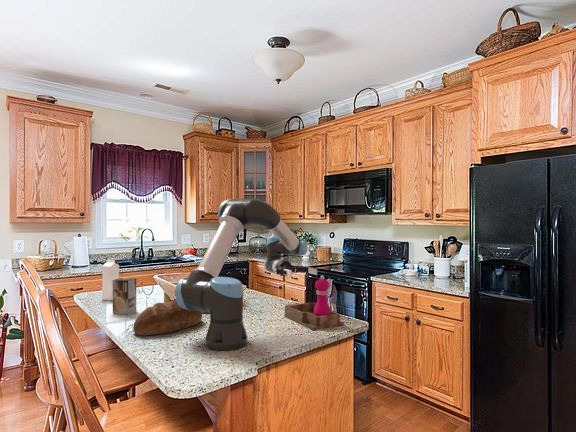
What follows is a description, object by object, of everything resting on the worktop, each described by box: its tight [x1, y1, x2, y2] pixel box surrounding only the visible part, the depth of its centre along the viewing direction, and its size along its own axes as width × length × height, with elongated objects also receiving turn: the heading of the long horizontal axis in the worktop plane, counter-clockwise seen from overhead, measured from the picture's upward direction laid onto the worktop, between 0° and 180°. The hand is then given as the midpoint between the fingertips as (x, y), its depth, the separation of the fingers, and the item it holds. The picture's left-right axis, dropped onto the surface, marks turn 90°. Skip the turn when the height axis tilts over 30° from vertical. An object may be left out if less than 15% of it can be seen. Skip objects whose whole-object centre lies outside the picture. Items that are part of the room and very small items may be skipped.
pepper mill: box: [314, 274, 331, 316], centre depth 157 cm, size 7×7×20 cm
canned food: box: [163, 280, 180, 303], centre depth 192 cm, size 8×8×12 cm
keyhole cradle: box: [283, 301, 345, 331], centre depth 163 cm, size 16×24×5 cm, turn 29°
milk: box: [101, 259, 120, 301], centre depth 205 cm, size 6×6×22 cm
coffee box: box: [112, 277, 137, 315], centre depth 176 cm, size 9×6×16 cm
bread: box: [132, 299, 203, 337], centre depth 153 cm, size 16×29×11 cm, turn 139°
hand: (304, 272), depth 169 cm, fingers open, 13 cm apart
